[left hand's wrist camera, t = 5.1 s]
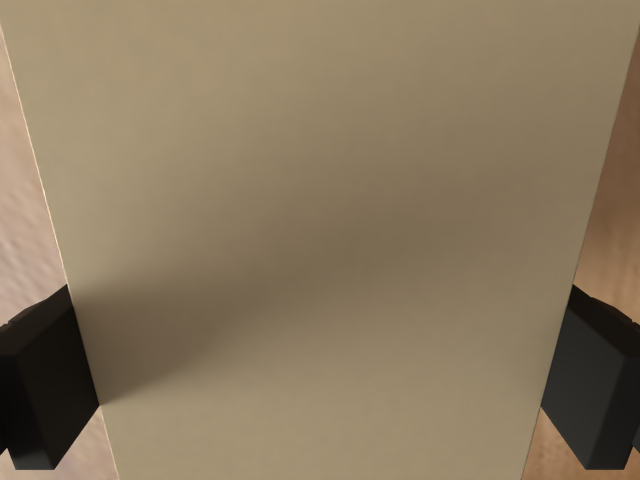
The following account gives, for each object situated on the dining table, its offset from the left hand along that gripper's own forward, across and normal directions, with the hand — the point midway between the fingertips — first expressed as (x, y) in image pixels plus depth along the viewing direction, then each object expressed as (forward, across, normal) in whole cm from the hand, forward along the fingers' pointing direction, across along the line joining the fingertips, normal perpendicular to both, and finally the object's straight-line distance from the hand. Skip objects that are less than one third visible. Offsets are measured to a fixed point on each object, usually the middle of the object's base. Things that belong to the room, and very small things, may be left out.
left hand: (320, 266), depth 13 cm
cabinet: (+5, 0, -6) cm, 8 cm away
